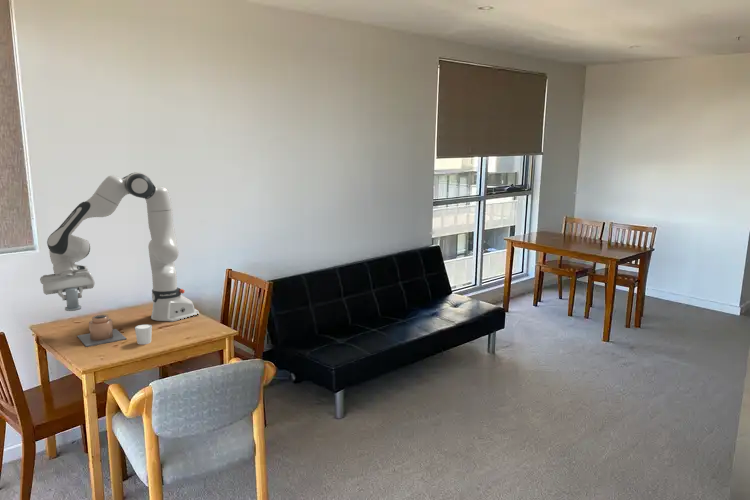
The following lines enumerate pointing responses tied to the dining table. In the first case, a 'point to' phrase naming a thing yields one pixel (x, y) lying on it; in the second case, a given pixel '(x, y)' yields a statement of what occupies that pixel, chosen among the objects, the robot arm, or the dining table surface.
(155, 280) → the robot arm
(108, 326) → the jar
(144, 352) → the dining table surface
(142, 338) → the white cup
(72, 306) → the stopper
